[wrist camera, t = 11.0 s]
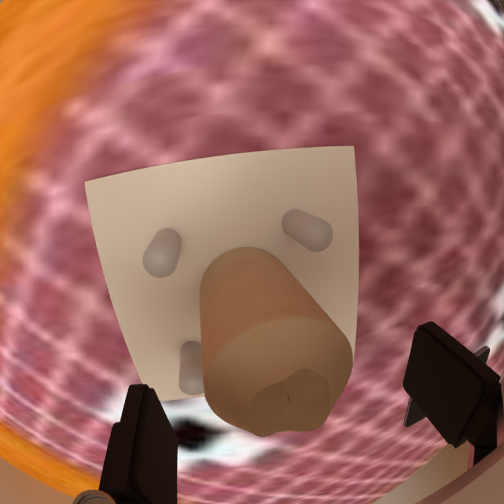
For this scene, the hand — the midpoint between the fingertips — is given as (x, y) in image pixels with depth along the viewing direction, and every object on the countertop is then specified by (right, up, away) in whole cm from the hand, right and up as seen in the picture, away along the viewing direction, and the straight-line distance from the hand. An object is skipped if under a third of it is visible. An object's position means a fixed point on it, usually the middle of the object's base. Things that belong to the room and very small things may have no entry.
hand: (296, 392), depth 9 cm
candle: (-2, +2, +9) cm, 9 cm away
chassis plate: (-2, +3, +10) cm, 11 cm away
